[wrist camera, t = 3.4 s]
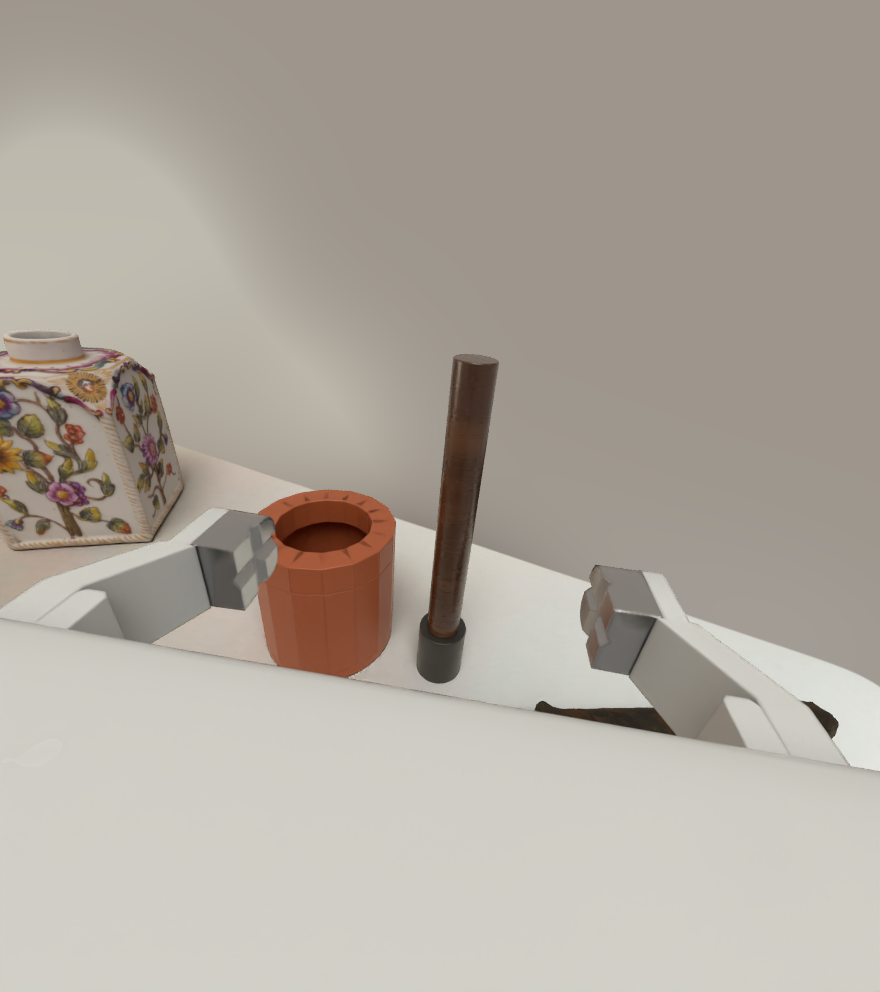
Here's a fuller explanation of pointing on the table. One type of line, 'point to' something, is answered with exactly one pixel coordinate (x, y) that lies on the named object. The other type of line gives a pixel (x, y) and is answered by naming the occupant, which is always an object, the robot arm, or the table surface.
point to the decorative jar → (80, 445)
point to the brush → (456, 514)
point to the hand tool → (656, 717)
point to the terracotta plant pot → (329, 582)
